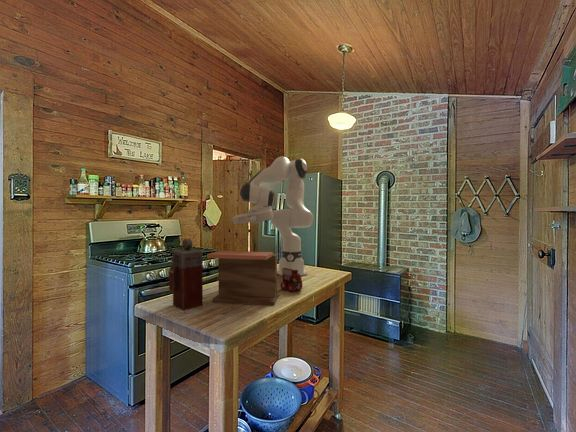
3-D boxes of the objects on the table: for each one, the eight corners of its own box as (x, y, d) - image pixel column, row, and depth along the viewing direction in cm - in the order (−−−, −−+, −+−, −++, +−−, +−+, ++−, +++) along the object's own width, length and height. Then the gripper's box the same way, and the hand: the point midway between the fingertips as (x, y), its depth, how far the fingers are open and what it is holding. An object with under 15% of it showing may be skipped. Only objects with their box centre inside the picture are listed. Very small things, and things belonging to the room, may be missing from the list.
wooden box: (223, 292, 147) (223, 251, 146) (279, 295, 143) (279, 252, 142) (212, 302, 133) (212, 256, 132) (274, 305, 129) (274, 258, 128)
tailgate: (220, 250, 137) (207, 254, 122) (273, 252, 134) (266, 255, 119) (220, 255, 137) (207, 259, 122) (273, 257, 134) (266, 261, 119)
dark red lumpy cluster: (296, 294, 146) (296, 272, 145) (277, 288, 154) (277, 268, 153) (305, 290, 151) (305, 269, 150) (287, 286, 159) (287, 266, 158)
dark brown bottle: (167, 306, 127) (166, 239, 126) (192, 300, 135) (191, 237, 134) (177, 311, 121) (176, 241, 120) (203, 305, 129) (202, 238, 128)
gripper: (236, 212, 159) (226, 216, 145) (274, 205, 155) (267, 209, 141) (238, 223, 160) (229, 229, 146) (276, 217, 155) (270, 222, 142)
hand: (248, 219), depth 144 cm, fingers closed
